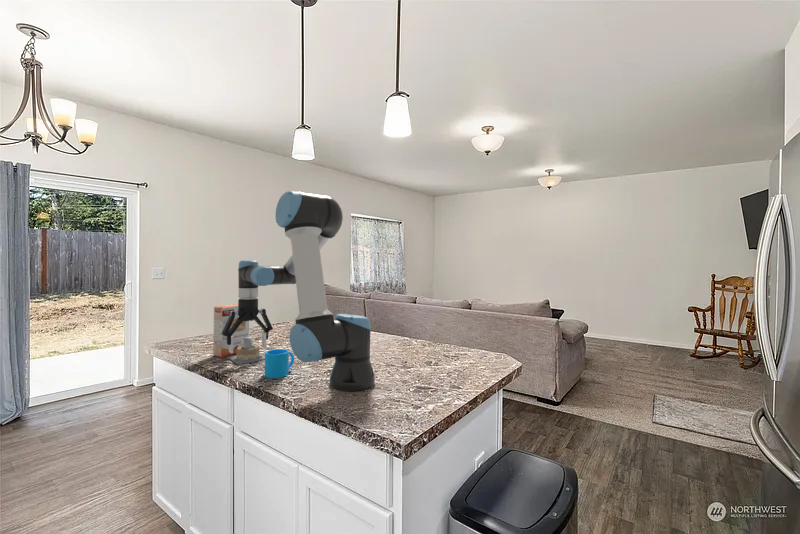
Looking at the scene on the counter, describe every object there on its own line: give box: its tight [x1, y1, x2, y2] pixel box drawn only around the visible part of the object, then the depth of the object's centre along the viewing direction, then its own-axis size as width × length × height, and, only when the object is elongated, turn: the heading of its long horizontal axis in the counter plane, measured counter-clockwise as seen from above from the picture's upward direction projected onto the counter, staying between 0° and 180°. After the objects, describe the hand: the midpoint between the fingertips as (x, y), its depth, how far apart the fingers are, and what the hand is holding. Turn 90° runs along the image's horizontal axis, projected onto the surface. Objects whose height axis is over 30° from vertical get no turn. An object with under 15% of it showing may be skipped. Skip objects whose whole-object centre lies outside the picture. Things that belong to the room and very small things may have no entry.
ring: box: [236, 344, 260, 360], centre depth 153 cm, size 8×8×4 cm
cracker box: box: [212, 303, 250, 358], centre depth 160 cm, size 14×6×21 cm, turn 153°
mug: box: [264, 348, 295, 379], centre depth 135 cm, size 12×8×8 cm
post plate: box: [227, 336, 265, 366], centre depth 153 cm, size 12×12×9 cm
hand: (248, 349), depth 153 cm, fingers open, 13 cm apart
